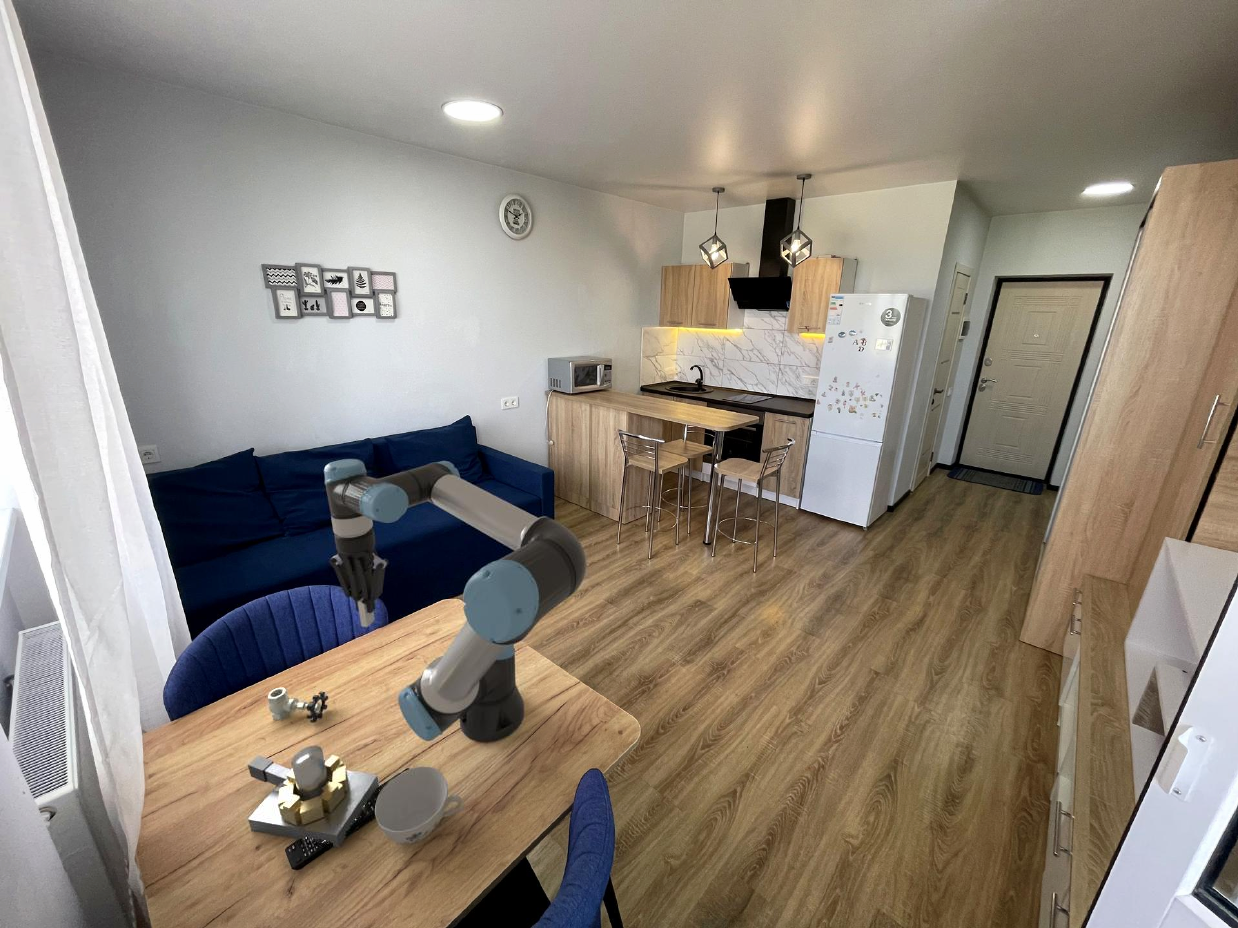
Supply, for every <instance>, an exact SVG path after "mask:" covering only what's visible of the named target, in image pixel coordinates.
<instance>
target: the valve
mask: <svg viewBox="0 0 1238 928" xmlns="http://www.w3.org/2000/svg"><path fill="white" fill-rule="evenodd" d="M311 699H312V701H309V702H308V701H299V698H295V697H291V698H290V697H289V696H288V692H287V688H285V687H277V688H275V689H273V690H272V691H270V692H269V693H268V697H267V700H268V710H269V711H270V713H271V717H272V720H273V721H283V720H284V719H286V718H287V717H290V715H291V713H293V712H295V711H296V710H297V711H305V710H306V712H307V711H308V712H310V713H307V714H306V720H307V719H308V720H309V723H314V724H315V723H317V722H318V720H321V719H322V718H323V717H324V713H323V711H326V710H327V709H328V704H326V701H328V700H329V695H326V692H325V691H319V692H318V694H314V695H313V696H312V698H311ZM319 701H321V702H319Z"/></svg>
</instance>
